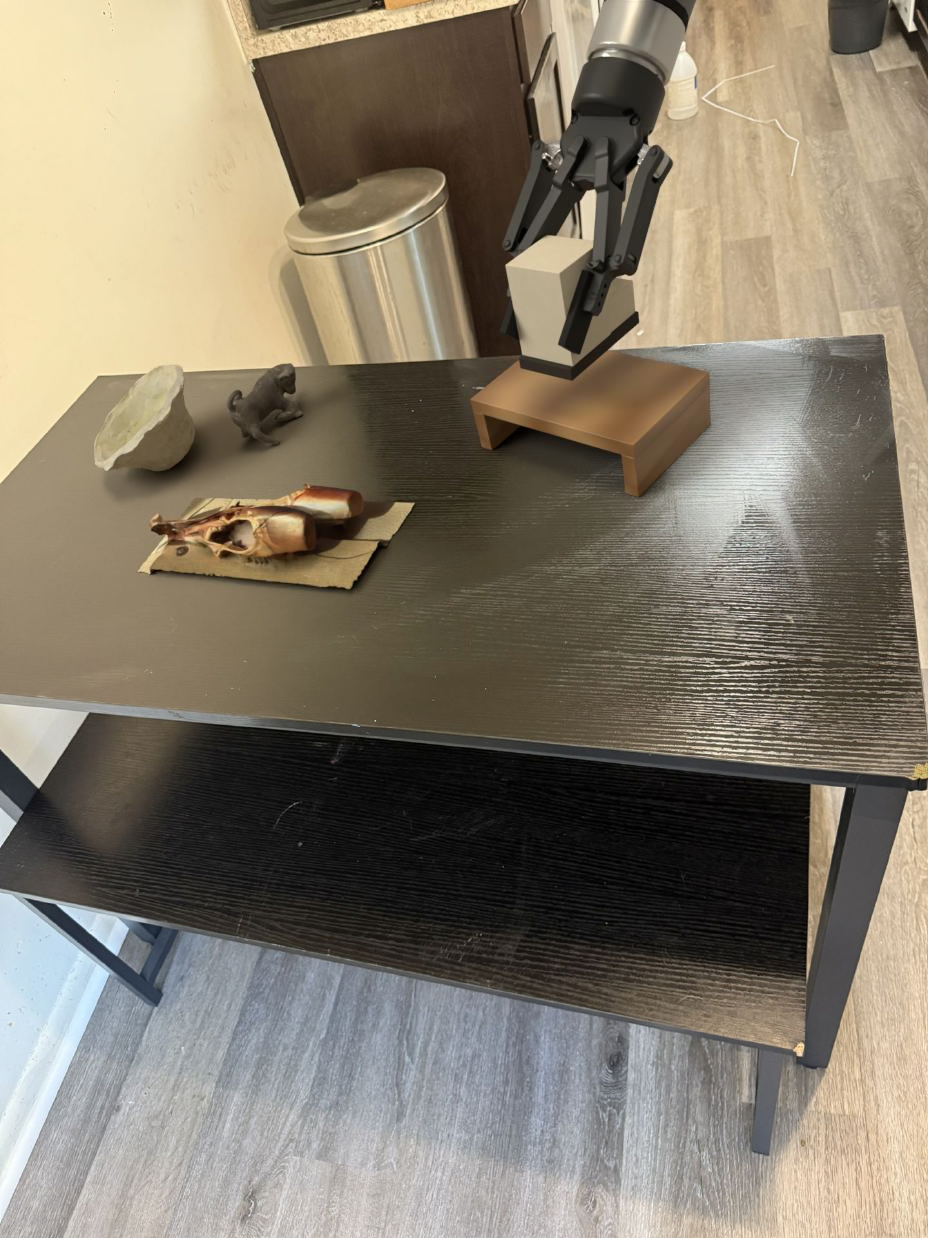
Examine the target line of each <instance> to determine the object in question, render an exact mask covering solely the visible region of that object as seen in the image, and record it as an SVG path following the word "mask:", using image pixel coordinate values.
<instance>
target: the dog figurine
mask: <svg viewBox="0 0 928 1238" xmlns="http://www.w3.org/2000/svg"><path fill="white" fill-rule="evenodd" d="M296 380H297V374H296V368H295V366H294V365H293V363H291V362H290V363H289V362H288V363H280V364H277V365H275V366H273V367H271V368H270V369H268V370H266V372H265V373H264V374H263V375H262V376H260V377H259V378H258V379H257V380H256V382H255V383H254V385H253V387H252V390H251V391H250V392H249V394H247V395H246V396H244V397H243V392H242V390H240V389H236V390H233V391H232V392H231V393H230V394H229V396H228V398H227V400H226V407H227V409H228V411H229V415H230V418H231V421H232V422H233V423H234V425H235V426H237V427H238V428H239V429H240V431H241V435H242V438H243V439H246V438H249V437H250V436H252V438H253V439H255V440H257V441H261V442H263V443H264V444H271V445H273V446H278V445H279V444H280V443H281V441H280V440H279V438H276V437H272V436H270V435H267V434H265V433H263V432H262V431H261V423H262V422H263V421H265V419H267V418H268V417H269V416H270V415H271V414H272V413H273V412H275V411H276V410H281V411H280V412H278V413H277V414H276V415H275V416H274V420H275V421H279V422H286V421H289V420H292V419H296V418H297V419H298V418H299V417H301V416H302V415H303V414H304V412H303V411H301V410H300V409H299V405H298V403H296V402H295V401H293V400H291V399H288V398H287V397H285V396H284V395H285V393H286V394H288V395H291V396H292V395H294V394H295V393H296V392H297V388H296V382H297V381H296Z"/></svg>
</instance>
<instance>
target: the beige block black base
mask: <svg viewBox="0 0 928 1238" xmlns="http://www.w3.org/2000/svg"><path fill="white" fill-rule="evenodd" d="M592 255H593V240H591V239H585V238H584V239H583V238H576V237H567V236H560V235H559V236H558V235H557V236H551V235H546V236H544V237H543V238H542V239H540V240H539V241H538V242H536V243H535V244H533V245H532V246H531V247H529V248H528V249H527V250H525V251H524V252H523V253H521V254H520V255H518V256H517V257H516V258H514V257H513V259H511V260H510V261H508V263H506V264H505V265H504V266H505V271H506V276H507V281H508V286H509V287H510V292H511V298H512V303H513V308H514V313H515V319H516V324H517V329H518V334H519V340H520V342H519V344H520V349H521V355H520V356H519V357H518V360H519V363H520V368H521V369H525V370H529V371H533V372H537V373H541V374H545V375H550V376H554V377H558V378H562V379H566V380H570V381H573V380H574V379H575V378H576V377H577V376H579V375H580V374H581V373H582V372H583V371H584V370H586V369H587V368H588V367H589V366H590V365H591V364H592V363H594V362H595V361H596V360H597V359H598V358H599V357H601V356H602V355H603V354H604V353H605V352H606V351H607V350H608V351H610V349H611V348H612V347H613V346H614V345H616V344H617V343H618V342H620V340H621V339H622V338H624V337H625V336H626V335H627V334H628V333H629V332H631V331H632V330H633V329H634V328H636V326H637V325H639V324H640V313H639V311H636V303H635V292H634V281H633V280H632V279H628V278H627V279H626V278H620V277H616V278H615V279H614V280H613V281H612V282H611V285H610V288H609V291H608V294H607V297H606V299H605V303H604V306H603V309H602V311H601V313H600V314H599V316H593V317H592V320H591V323H590V326H589V329H588V332H587V335H586V338H585V341H584V344H583V347H582V350H581V353H580V355H579V354H574V353H572V352H570V351H568V350H566V349H565V348H563V347H561V346H559V345H558V342H559V339H560V335H561V332H562V329H563V326H564V323H565V320H566V317H567V314H568V311H569V308H570V305H571V302H572V299H573V296H574V293H575V290H576V287H577V284H578V281H579V278H580V275H581V271H582V270H588V271H590V272H592V273H593V270H592V269H591V268H590V267H589V266H588V263H587V262H589V263H590V262H591V261H592Z"/></svg>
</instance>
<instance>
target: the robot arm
mask: <svg viewBox="0 0 928 1238" xmlns="http://www.w3.org/2000/svg"><path fill="white" fill-rule="evenodd" d="M696 2H697V0H603V1H602V5H601V7H600V10H599V12H598V13H599V14H598V16H597V19H596V22H595V26H594V29H593V31H592V35H591V36H590V37H591V38H590V39H589V44H588V46H587V50H586V53H585V58H586V59H585V60H586V61H587V62H585V63H584V64H583V65H582V67H581V71H580V74H579V76H578V79H577V83H576V86H575V90H574V92H573V96H572V99H571V101H570V102H571V103H570V121H569V124H568V126H567V127H566V129H565V130H564V132H563V133H562V135H561V136H560V138H559V140H555V141H552V142H549V143H546V142H544V141H543V140H542V139H537V140H535V141H534V142H533V144H532V147H531V154H530V156H531V157H530V166H529V169H528V172H527V175H526V177H525V180H524V182H523V186H522V188H521V191H520V194H519V197H518V199H517V202H516V205H515V208H514V211H513V214H512V216H511V218H510V221H509V223H508V224H509V225H508V227H507V230H506V233H505V235H504V239H503V241H502V245H501V246H502V249H503V250H504V251H505V252H507V253H508V254H509V255H511V256H512V257H513V259H514V258H516V257H517V256H518V255H520V254H521V253H523V252H524V251H525V250H527V249H528V248H529V247H531V246H532V245H533V244H535V243H536V242H538V241H539V240H540V239H542V238H543V237H544V236H546V235H551V236H558V233H559V232H560V230H561V229H562V227H563V225H564V224H565V222H566V220H567V218H568V217H569V215H570V213H571V212H572V210H573V208H574V206H575V205H576V203H579V202H581V201H582V200H583V199H584V197H585V195H586V193H587V192H590V191H595V194H596V198H595V201H596V202H595V212H594V213H595V214H594V227H593V240H592V241H593V255H592V261H591V262H590V263H589V262H587V263H588V266H589V267H590V268H591V269H592V270H593V273H592V272H590V271H588V270H582V271H581V275H580V278H579V281H578V284H577V287H576V290H575V293H574V296H573V299H572V302H571V305H570V308H569V311H568V314H567V317H566V320H565V323H564V326H563V329H562V332H561V335H560V339H559V342H558V345H559V346H561V347H563V348H565V349H566V350H568V351H570V352H572V353H574V354H579V355H580V353H581V350H582V347H583V344H584V341H585V338H586V335H587V332H588V329H589V326H590V323H591V320H592V317H593V316H599V314H600V313H601V311H602V309H603V306H604V303H605V299H606V297H607V294H608V291H609V288H610V285H611V282H612V281H613V280H614V279H615V278H619V277H622V276H627V277H632V276H634V275H635V274H636V273H637V271H638V268H639V265H640V261H641V258H642V254H643V251H644V248H645V245H646V244H645V243H646V240H647V236H648V232H649V229H650V226H651V221H652V219H653V214H654V211H655V207H656V205H657V202H658V201H657V200H658V197H659V193H660V189H661V187H662V185H663V183H664V182H665V180H666V179H667V177H668V175H669V173H670V172H671V170H672V168H673V167H674V160H673V159H672V158H671V156H670V155H668V153H667V152H666V151H665V150H664V149H663V148H662V147H661V146H660V145H659V144H653V145H652V146H651V145H649V136H651V134H652V133H653V132H654V129H655V127H656V124H657V121H658V118H659V115H660V112H661V109H662V107H663V103H664V99H665V97H666V88H665V87H666V86H667V85H668V84H669V83H670V82H671V77H672V75H673V71H674V69H675V65H676V62H677V59H678V56H679V54H680V50H681V48H682V44H683V41H684V39H685V36H686V33H687V30H688V26H689V22H690V18H691V16H692V13H693V10H694V8H695V6H696ZM561 160H562V162H561ZM560 162H561V163H560ZM636 167H637V170H636V173H635V174H634V178H633V181H632V184H631V188H630V191H629V194H628V199H627V202H626V206H625V210H624V213H623V212H622V211H623V203H624V202H625V201H626V196H627V184H628V183H627V182H628V176H629V175H630V174H631V173H632V172H633V171H634V170H635V168H636ZM570 182H571V183H570ZM572 184H573V185H572ZM622 213H623V217H622ZM506 297H507V298H509V301H508V304H507V306H506V310H505V313H504V317H503V319H502V323H501V325H500V329H499V333H501V334H502V335H504V336H506V337H508V338H510V339H511V340H514V341H516V342H519V343H520V340H519V334H518V329H517V324H516V319H515V313H514V308H513V303H512V298H511V292H510V287H509V285H508V286H507V289H506Z"/></svg>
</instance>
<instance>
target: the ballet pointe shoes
mask: <svg viewBox="0 0 928 1238" xmlns="http://www.w3.org/2000/svg"><path fill="white" fill-rule="evenodd" d="M302 486H303V487H306V488H302V489H299V490H297V491H295V492H292V493H290V494H287V495H284V496H281V497H279V498H277V499H274V498H273V499H269V498H267V499H265V498H264V499H263V498H259V499H257V498H256V499H255V498H243V499H242V498H223V497H222V498H221V497H219V498H217V497H215V498H212V497H204V498H202V497H195V498H193V499H192V501H191V502H190V504H189V505H188V506H187V507H186V509H185V510H184V511H183V513H181V514H180V517H178V519H172V520H167V519H164V518H163V515H161V513H160V512H157V513H155V514H154V515H153V516H151V518H150V519H149V521H148V526H149V528H150V531H151V532H153V533H155V534H157V535H158V536H164V537H163V539H162V540H161V541H160V542H159V543H158V545H156V547H155V548H154V549H153V551H151V553H150V555H149V556H147V558H146V560H145V562H143V563H142V565H141V566H140V567H139V569H138V570H137V573H140V572H141V573H146V574H148V575H147V576H149V575H151V574H152V573H153V572H154V571H155V570H162V571H164V572H165V571H166V572H171V571H172V572H176V573H177V572H179V573H187V574H196V575H203V574H204V575H205V576H208V575H210V576H211V577H212V576H213V575H215V576H217V577H230V578H232V579H233V578H235V579H247V580H256V581H257V580H258V581H265V582H277V583H278V582H280V583H288V584H299V585H306V586H314V587H318V588H319V587H320V588H322V587H323V588H324V587H325V588H327V587H336V588H345V590H350V589H351V588H352V587H353V583H354V581H358V580H359V579H358V577H359V576H360V575H361V574H362V571H363V570H364V569H365V566H367V564H368V562H369V560H370V558H371V557H372V554H373V553H374V552H375V551H376V549H377V548H378V547H381V548H387V547H389V544H391V541H390V540H391V539H392V538H393V535H395V534H396V533H397V532H398V530H399V528H400V527H401V525H402V524H403V523H404V521H405V520H406V519H407V516H408V515H409V514H410V512H411V511H412V509H413V507H414V505H415V502H398V501H366V500H364V498H363V495H362V493H361V492H360V491H358V490H354V489H348V488H340V487H332V486H323V485H314V484H313V485H311V484H308V483H306V482H304V484H303V485H302Z"/></svg>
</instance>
